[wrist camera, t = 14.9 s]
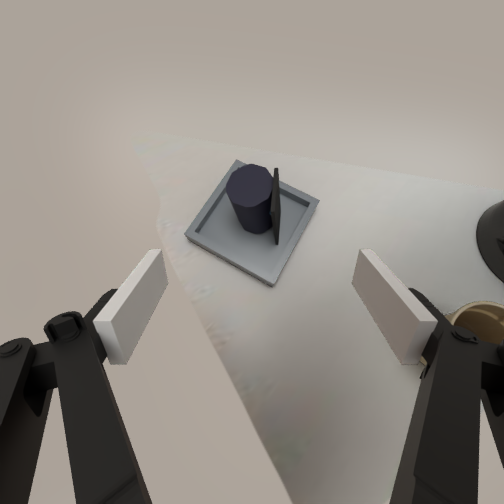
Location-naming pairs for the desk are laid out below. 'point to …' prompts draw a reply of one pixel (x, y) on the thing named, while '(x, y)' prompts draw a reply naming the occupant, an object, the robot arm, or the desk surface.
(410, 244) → the desk surface
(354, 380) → the desk surface
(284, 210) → the tray
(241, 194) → the dark cylinder with plate
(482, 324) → the flower pot
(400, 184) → the desk surface
